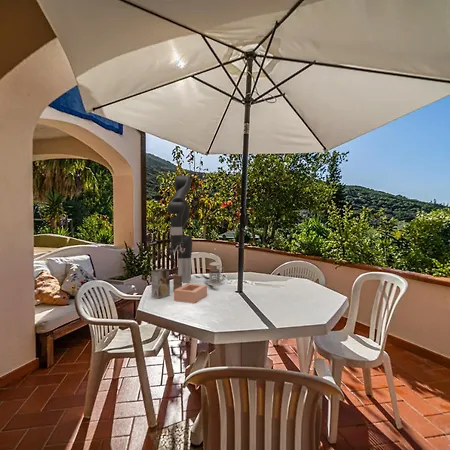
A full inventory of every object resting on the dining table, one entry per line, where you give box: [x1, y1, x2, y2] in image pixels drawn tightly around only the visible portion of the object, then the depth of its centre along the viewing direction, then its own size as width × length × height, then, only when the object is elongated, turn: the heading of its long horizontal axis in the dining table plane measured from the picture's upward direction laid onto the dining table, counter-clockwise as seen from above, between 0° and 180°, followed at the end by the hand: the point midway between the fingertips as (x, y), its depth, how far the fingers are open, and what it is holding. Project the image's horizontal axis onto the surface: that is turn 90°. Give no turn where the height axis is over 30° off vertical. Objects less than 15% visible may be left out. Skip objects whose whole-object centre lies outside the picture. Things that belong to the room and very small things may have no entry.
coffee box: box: [150, 267, 171, 299], centre depth 189 cm, size 9×6×16 cm
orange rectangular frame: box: [173, 282, 208, 304], centre depth 187 cm, size 18×13×6 cm
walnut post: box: [172, 274, 183, 293], centre depth 201 cm, size 4×4×10 cm
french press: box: [207, 247, 225, 286], centre depth 223 cm, size 10×12×25 cm
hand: (176, 259), depth 199 cm, fingers open, 8 cm apart
